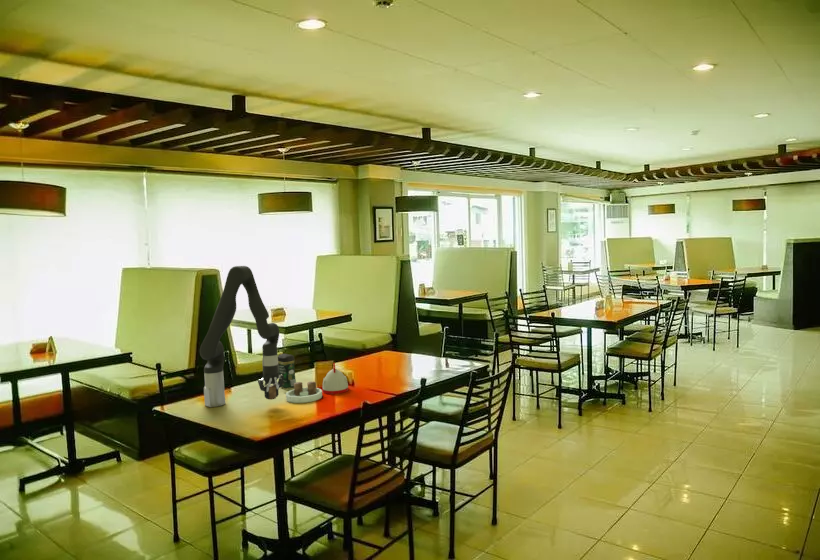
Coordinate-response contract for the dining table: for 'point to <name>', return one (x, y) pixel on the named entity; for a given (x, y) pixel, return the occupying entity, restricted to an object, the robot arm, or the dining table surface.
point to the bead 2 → (311, 388)
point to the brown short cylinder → (272, 392)
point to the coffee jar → (287, 369)
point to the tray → (303, 396)
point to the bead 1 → (298, 388)
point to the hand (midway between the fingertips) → (271, 397)
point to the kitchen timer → (335, 382)
